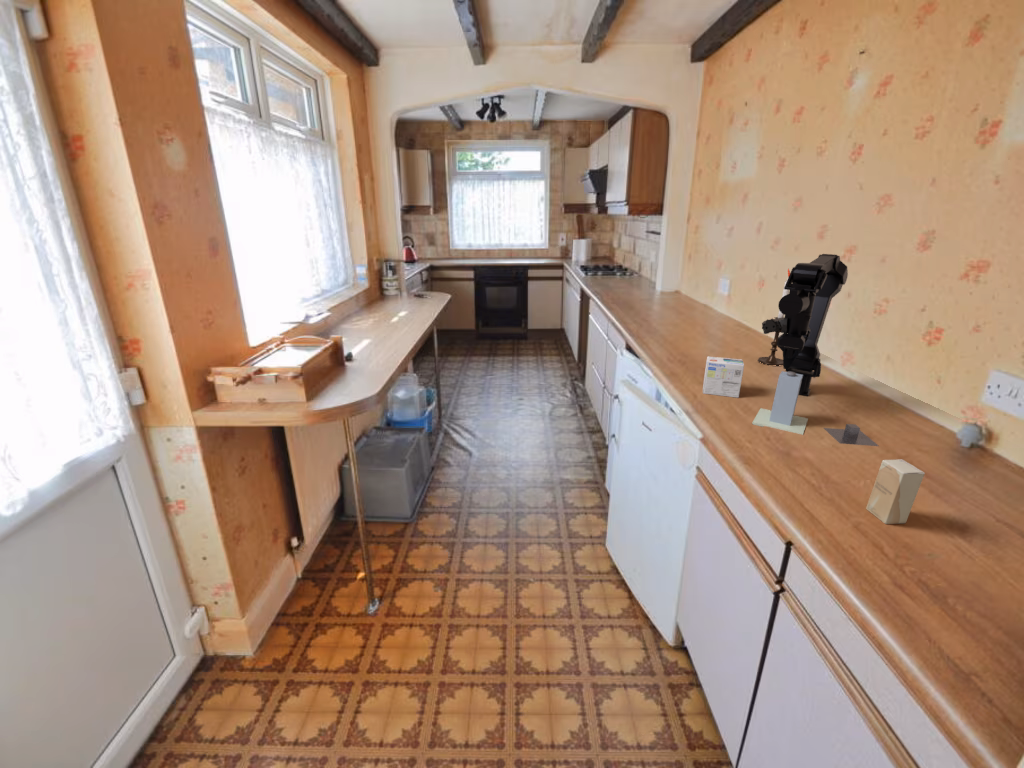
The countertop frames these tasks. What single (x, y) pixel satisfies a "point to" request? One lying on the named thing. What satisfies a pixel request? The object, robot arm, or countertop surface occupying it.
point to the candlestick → (775, 340)
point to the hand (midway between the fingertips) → (788, 364)
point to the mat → (764, 417)
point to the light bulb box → (723, 376)
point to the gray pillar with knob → (786, 397)
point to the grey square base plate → (850, 435)
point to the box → (894, 491)
